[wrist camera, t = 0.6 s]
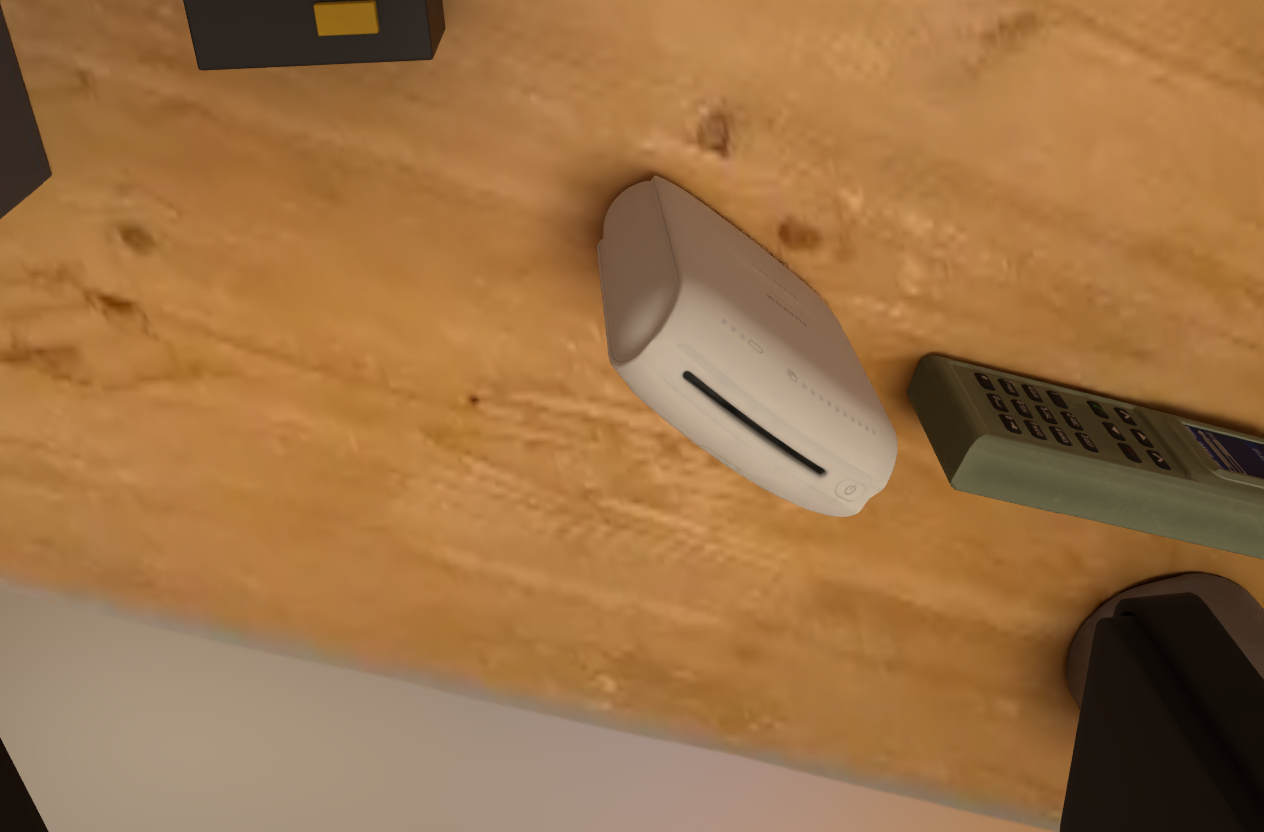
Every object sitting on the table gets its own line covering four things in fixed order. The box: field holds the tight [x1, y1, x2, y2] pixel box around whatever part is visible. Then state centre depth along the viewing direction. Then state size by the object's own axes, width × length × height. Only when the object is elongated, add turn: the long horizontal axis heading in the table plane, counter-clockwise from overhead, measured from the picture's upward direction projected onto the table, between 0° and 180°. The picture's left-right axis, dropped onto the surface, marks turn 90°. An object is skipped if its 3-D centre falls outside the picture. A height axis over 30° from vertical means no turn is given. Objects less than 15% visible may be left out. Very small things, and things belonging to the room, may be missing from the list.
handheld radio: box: [907, 356, 1264, 559], centre depth 46 cm, size 7×3×25 cm
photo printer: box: [597, 176, 897, 517], centre depth 38 cm, size 10×4×12 cm, turn 51°
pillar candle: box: [1067, 573, 1264, 710], centre depth 49 cm, size 10×10×15 cm
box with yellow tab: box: [183, 0, 445, 70], centre depth 36 cm, size 3×8×5 cm, turn 92°
